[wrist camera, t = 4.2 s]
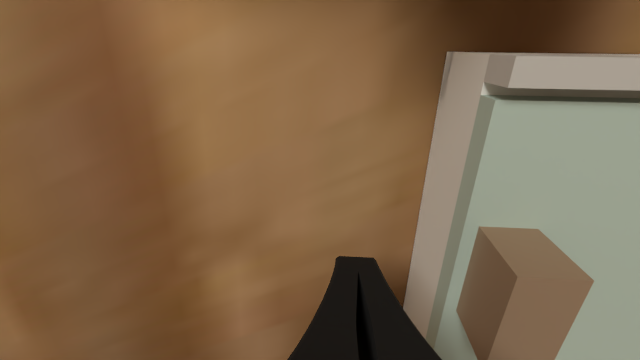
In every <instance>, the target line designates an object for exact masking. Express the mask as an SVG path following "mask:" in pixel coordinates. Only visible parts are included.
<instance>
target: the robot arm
mask: <svg viewBox="0 0 640 360" xmlns="http://www.w3.org/2000/svg"><path fill="white" fill-rule="evenodd" d="M288 360H442V359H441V358H440V357H439V356H438V354H437V353H436V352H435V351H434V350H433V348H432V347H431V346H430V345H429V343H428V342H427V341H426V340H425V338H424V337H423V336H422V335H421V333H420V332H419V331H418V329H417V328H416V326H415V325H414V324H413V322H412V321H411V319H410V318H409V317H408V315H407V314H406V312H405V311H404V309H403V308H402V306H401V305H400V303H399V302H398V300H397V298H396V297H395V295H394V294H393V292H392V290H391V289H390V287H389V285H388V283H387V282H386V280H385V278H384V276H383V274H382V272H381V270H380V268H379V266H378V264H377V262H376V260H375V259H374V258H366V257H345V256H339V257H337V258H336V263H335V268H334V271H333V275H332V278H331V281H330V283H329V286H328V288H327V291H326V293H325V295H324V298H323V300H322V302H321V304H320V306H319V308H318V310H317V312H316V314H315V316H314V318H313V320H312V322H311V323H310V325H309V327H308V329H307V330H306V332H305V334H304V335H303V337H302V339H301V340H300V342H299V343H298V345H297V347H296V348H295V349H294V351H293V352H292V354H291V355H290V357H289V358H288Z"/></svg>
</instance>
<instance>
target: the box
mask: <svg viewBox="0 0 640 360" xmlns="http://www.w3.org/2000/svg"><path fill="white" fill-rule="evenodd" d="M481 95H511V96H559V97H607V98H640V54H577V53H505V52H447V55H446V61H445V67H444V72H443V78H442V84H441V90H440V96H439V102H438V107H437V113H436V119H435V125H434V131H433V137H432V143H431V148H430V154H429V160H428V166H427V172H426V178H425V183H424V189H423V195H422V201H421V207H420V213H419V218H418V224H417V230H416V236H415V242H414V248H413V253H412V259H411V265H410V271H409V277H408V283H407V288H406V294H405V300H404V306H403V309H404V311H405V312H406V314H407V315H408V317H409V318H410V319H411V321H412V322H413V324H414V325H415V326H416V328H417V329H418V331H419V332H420V333H421V335H422V336H423V337H424V338H425V339H426V334H427V330H428V325H429V321H430V317H431V312H432V308H433V303H434V299H435V295H436V290H437V286H438V281H439V277H440V272H441V268H442V264H443V259H444V255H445V250H446V246H447V241H448V237H449V233H450V228H451V224H452V219H453V215H454V210H455V206H456V202H457V197H458V193H459V188H460V184H461V180H462V175H463V171H464V166H465V162H466V157H467V153H468V149H469V144H470V140H471V135H472V131H473V126H474V122H475V118H476V113H477V109H478V104H479V100H480V96H481Z"/></svg>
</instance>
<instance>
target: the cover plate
mask: <svg viewBox="0 0 640 360" xmlns="http://www.w3.org/2000/svg"><path fill="white" fill-rule="evenodd" d="M425 340H426V341H427V342H428V343H429V345H430V346H431V347H432V348H433V350H434V351H435V352H436V353H437V354H438V356H439V357H440V358H441V359H442V360H640V98H607V97H559V96H511V95H481V96H480V100H479V104H478V109H477V113H476V118H475V122H474V126H473V131H472V135H471V140H470V144H469V149H468V153H467V157H466V162H465V166H464V171H463V175H462V180H461V184H460V188H459V193H458V197H457V202H456V206H455V210H454V215H453V219H452V224H451V228H450V233H449V237H448V241H447V246H446V250H445V255H444V259H443V264H442V268H441V272H440V277H439V281H438V286H437V290H436V295H435V299H434V303H433V308H432V312H431V317H430V321H429V325H428V330H427V334H426V339H425Z"/></svg>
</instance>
